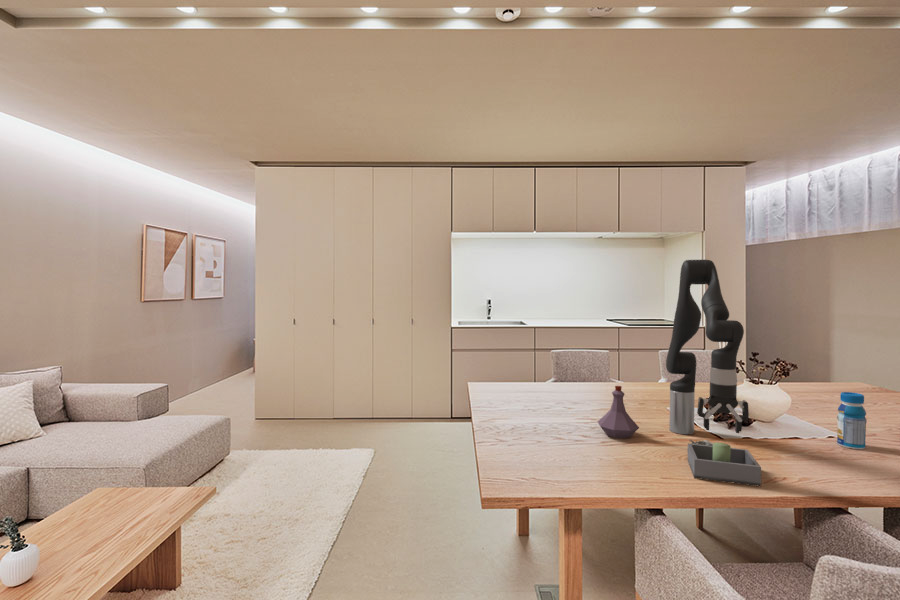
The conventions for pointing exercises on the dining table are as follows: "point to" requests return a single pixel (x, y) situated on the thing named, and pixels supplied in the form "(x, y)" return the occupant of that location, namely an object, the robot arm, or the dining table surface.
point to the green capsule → (721, 452)
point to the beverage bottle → (851, 421)
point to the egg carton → (702, 442)
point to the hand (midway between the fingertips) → (722, 431)
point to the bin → (724, 465)
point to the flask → (618, 418)
